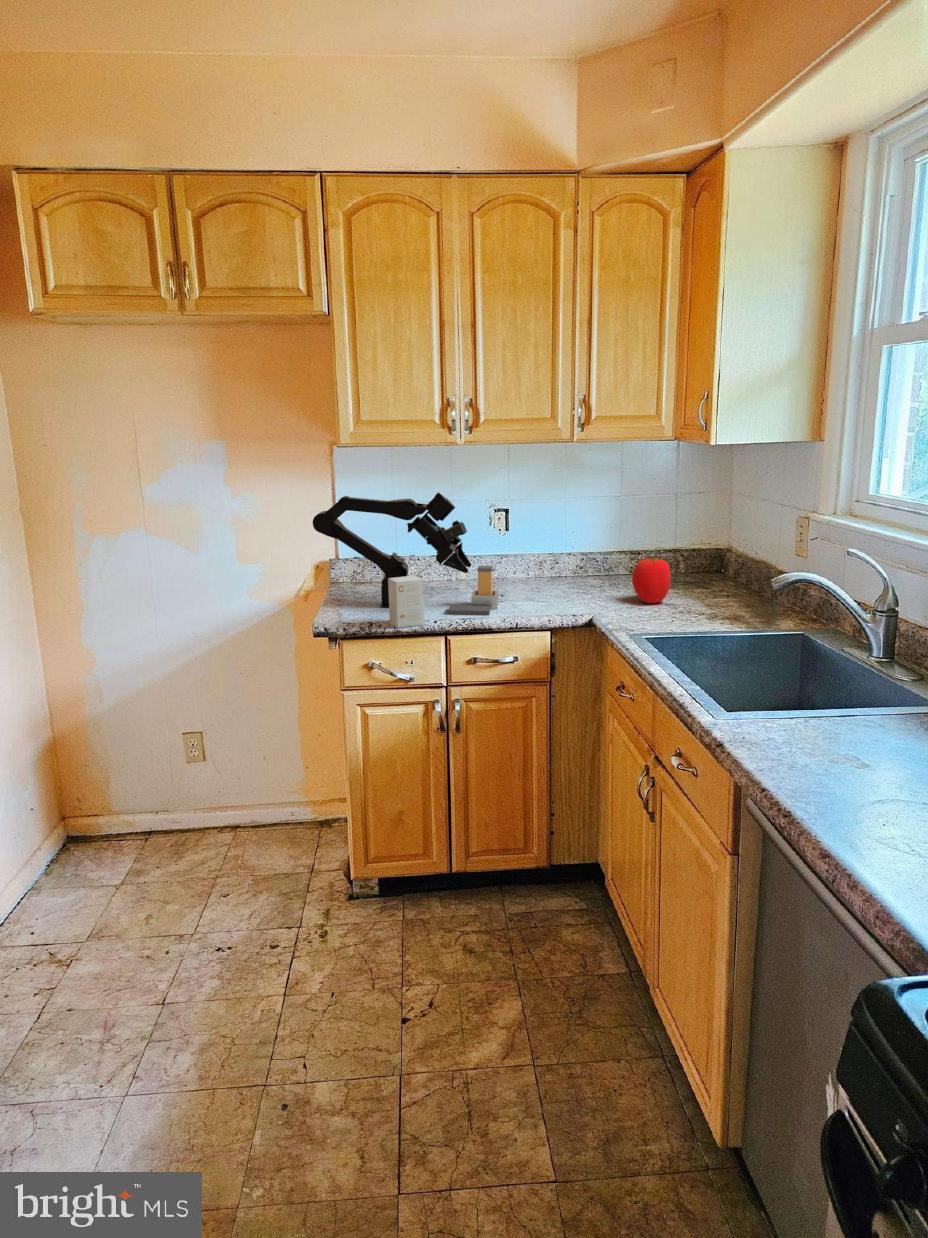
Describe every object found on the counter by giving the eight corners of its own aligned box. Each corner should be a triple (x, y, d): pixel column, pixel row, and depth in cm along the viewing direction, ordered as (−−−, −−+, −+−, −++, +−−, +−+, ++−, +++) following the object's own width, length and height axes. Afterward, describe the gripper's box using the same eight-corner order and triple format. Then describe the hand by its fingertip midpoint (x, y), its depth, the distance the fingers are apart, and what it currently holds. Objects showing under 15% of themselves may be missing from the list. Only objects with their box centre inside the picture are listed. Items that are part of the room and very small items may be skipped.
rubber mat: (447, 614, 242) (447, 610, 242) (450, 609, 248) (450, 605, 248) (489, 615, 241) (489, 611, 241) (490, 609, 247) (490, 606, 247)
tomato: (663, 608, 248) (666, 561, 244) (626, 604, 253) (628, 558, 249) (674, 599, 259) (676, 554, 255) (638, 596, 264) (640, 551, 260)
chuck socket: (471, 608, 249) (471, 595, 248) (473, 602, 256) (473, 590, 255) (496, 609, 248) (496, 596, 247) (498, 603, 255) (498, 590, 254)
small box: (416, 620, 236) (415, 574, 233) (424, 625, 231) (423, 579, 228) (389, 623, 233) (387, 577, 230) (396, 628, 227) (395, 581, 224)
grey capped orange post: (477, 607, 250) (477, 568, 247) (478, 604, 254) (478, 565, 251) (491, 607, 250) (491, 568, 247) (492, 604, 254) (492, 565, 251)
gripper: (446, 517, 237) (485, 555, 239) (453, 509, 255) (490, 545, 257) (419, 544, 240) (458, 582, 242) (428, 534, 258) (465, 570, 260)
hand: (469, 569), depth 250 cm, fingers open, 9 cm apart
